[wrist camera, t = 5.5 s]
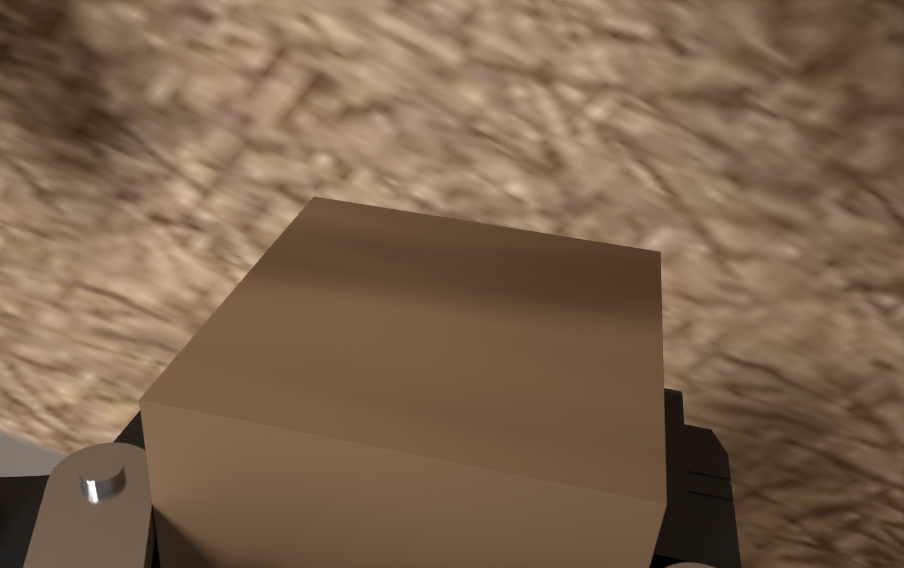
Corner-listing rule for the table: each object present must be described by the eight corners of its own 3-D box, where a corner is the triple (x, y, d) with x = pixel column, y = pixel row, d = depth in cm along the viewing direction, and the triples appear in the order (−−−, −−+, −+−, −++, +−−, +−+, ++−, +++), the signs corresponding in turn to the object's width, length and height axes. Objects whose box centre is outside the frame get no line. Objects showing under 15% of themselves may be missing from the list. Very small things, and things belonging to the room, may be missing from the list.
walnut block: (313, 196, 14) (138, 399, 9) (660, 252, 13) (666, 505, 8) (313, 458, 16) (180, 719, 12) (600, 516, 16) (579, 818, 11)
